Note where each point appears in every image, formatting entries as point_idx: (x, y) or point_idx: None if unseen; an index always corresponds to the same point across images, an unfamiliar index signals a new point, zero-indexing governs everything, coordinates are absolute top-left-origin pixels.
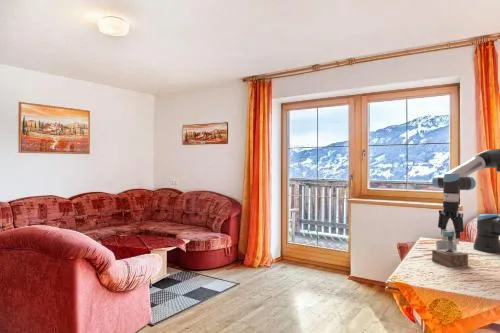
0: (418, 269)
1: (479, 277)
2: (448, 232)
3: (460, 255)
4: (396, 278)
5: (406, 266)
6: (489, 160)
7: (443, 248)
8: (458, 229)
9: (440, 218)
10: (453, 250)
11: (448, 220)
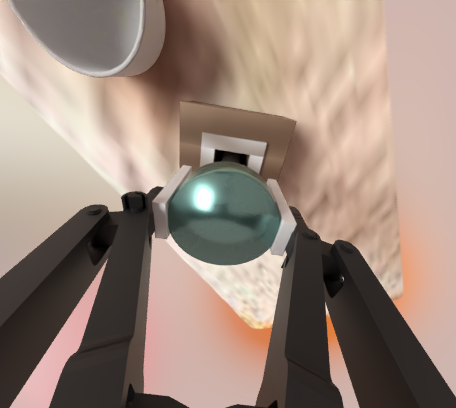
0: (234, 271)
1: (355, 212)
2: (239, 263)
3: (280, 169)
4: (251, 322)
5: (208, 274)
6: None
7: (131, 73)
8: (324, 286)
9: (44, 349)
10: (214, 114)
11: (136, 300)
